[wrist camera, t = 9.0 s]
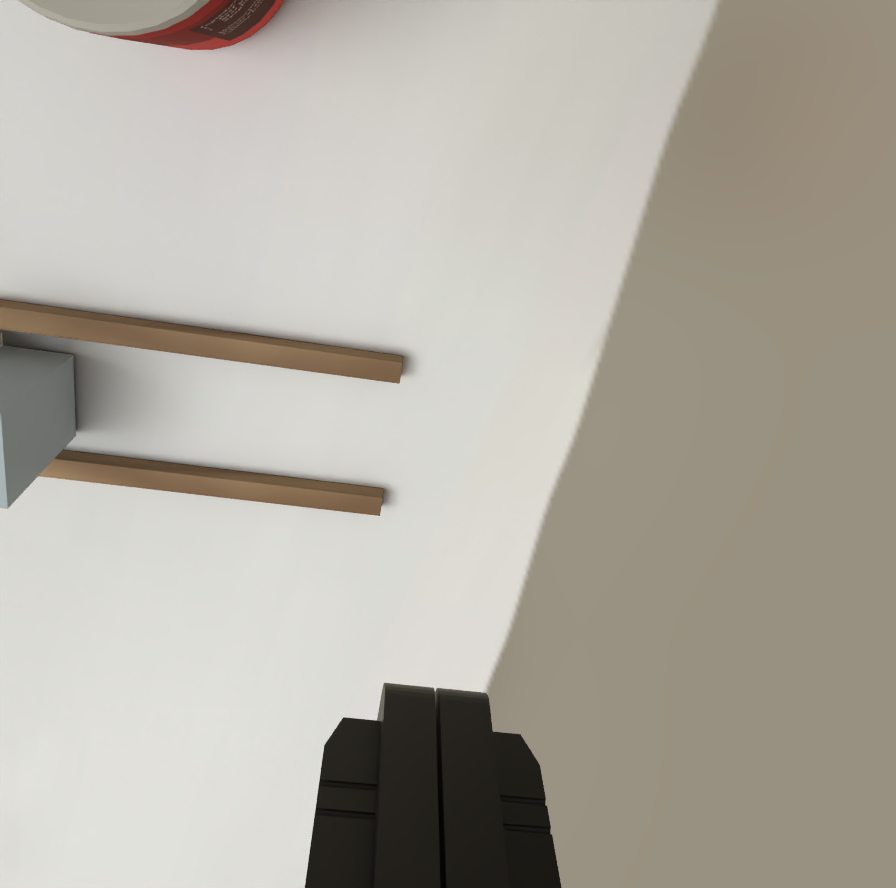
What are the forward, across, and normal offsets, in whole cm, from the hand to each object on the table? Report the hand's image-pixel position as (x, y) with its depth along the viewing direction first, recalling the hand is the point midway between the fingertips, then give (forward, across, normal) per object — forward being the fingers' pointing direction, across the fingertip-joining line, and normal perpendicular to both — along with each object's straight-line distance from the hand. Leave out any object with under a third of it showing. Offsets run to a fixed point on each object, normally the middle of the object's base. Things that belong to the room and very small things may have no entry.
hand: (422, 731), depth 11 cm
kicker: (+26, +16, +7) cm, 31 cm away
